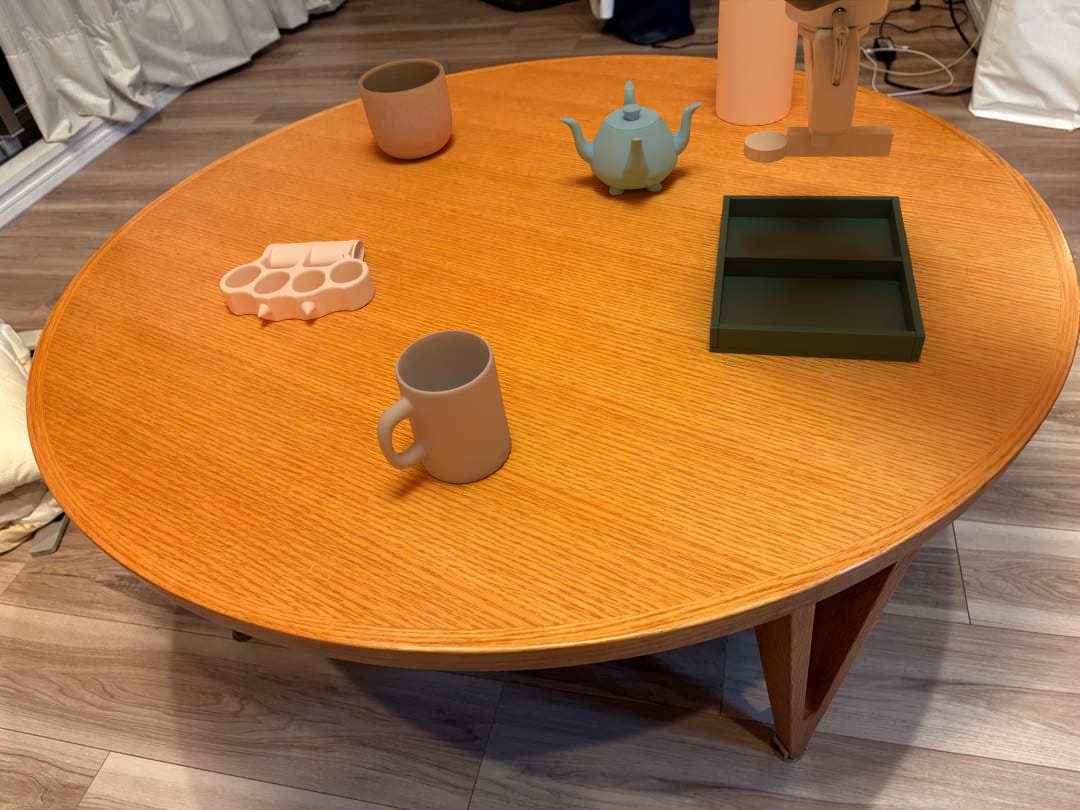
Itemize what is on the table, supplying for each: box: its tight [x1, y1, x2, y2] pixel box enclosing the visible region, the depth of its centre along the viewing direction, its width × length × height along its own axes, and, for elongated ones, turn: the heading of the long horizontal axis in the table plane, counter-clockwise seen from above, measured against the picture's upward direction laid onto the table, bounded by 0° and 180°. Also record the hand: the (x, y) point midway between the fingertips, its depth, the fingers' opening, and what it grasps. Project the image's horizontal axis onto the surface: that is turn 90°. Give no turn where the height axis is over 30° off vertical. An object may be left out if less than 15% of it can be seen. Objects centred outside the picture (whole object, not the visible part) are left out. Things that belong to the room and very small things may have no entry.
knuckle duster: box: [219, 238, 376, 322], centre depth 98 cm, size 3×18×15 cm
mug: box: [376, 329, 512, 484], centre depth 72 cm, size 12×8×11 cm
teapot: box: [558, 80, 703, 196], centre depth 106 cm, size 13×13×10 cm
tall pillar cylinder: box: [715, 0, 799, 127], centre depth 112 cm, size 11×11×25 cm
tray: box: [708, 194, 926, 363], centre depth 88 cm, size 20×26×3 cm
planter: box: [357, 58, 453, 160], centre depth 120 cm, size 12×12×11 cm
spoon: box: [743, 125, 894, 164], centre depth 83 cm, size 14×4×2 cm, turn 78°
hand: (818, 137), depth 83 cm, fingers closed on spoon, 2 cm apart
